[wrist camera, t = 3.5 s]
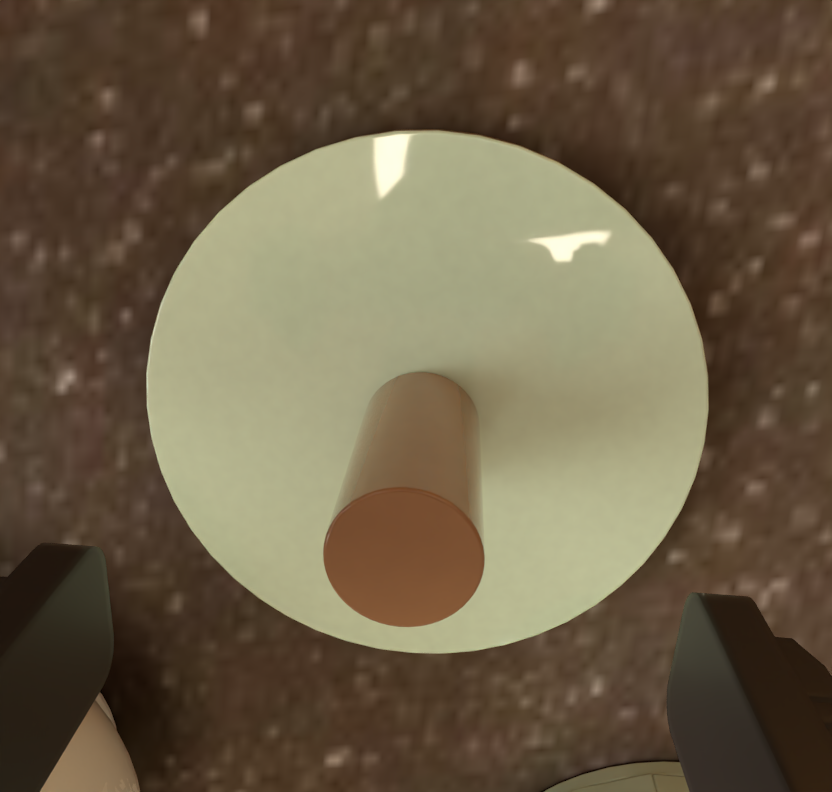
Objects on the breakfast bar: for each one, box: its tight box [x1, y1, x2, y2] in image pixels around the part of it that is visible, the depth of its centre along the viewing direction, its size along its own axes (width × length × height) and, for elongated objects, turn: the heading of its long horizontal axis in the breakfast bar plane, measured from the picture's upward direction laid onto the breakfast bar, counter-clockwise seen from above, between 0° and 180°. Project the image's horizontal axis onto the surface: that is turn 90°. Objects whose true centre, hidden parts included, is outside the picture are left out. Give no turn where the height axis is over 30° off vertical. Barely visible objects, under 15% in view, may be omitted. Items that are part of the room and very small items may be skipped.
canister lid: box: [146, 129, 709, 654], centre depth 16 cm, size 13×13×7 cm
